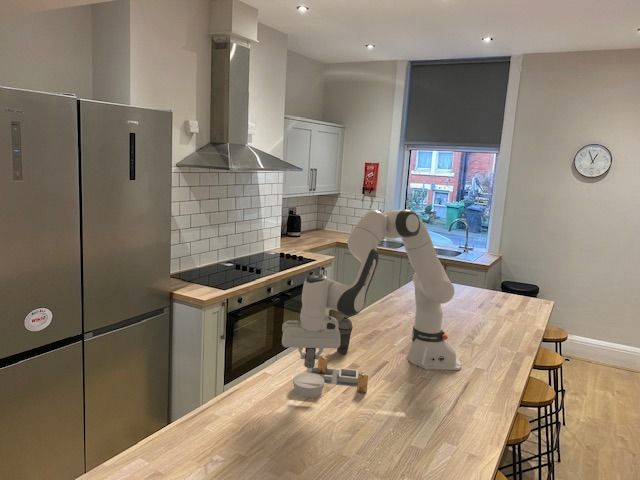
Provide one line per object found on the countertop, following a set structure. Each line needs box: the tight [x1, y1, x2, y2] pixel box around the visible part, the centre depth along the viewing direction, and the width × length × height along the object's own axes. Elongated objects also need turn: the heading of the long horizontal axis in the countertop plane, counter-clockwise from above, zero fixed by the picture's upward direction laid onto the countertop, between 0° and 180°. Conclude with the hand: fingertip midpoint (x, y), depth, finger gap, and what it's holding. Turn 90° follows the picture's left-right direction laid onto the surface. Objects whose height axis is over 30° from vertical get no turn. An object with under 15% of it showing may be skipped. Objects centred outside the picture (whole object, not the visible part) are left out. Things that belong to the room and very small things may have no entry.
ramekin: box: [292, 372, 325, 398], centre depth 166 cm, size 11×11×5 cm
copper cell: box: [356, 373, 369, 395], centre depth 168 cm, size 4×4×8 cm
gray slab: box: [305, 365, 365, 388], centre depth 178 cm, size 22×12×3 cm, turn 86°
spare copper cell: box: [317, 355, 329, 375], centre depth 178 cm, size 4×4×8 cm
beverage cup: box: [336, 314, 354, 355], centre depth 202 cm, size 7×7×20 cm
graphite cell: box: [303, 348, 317, 368], centre depth 164 cm, size 4×4×8 cm
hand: (309, 358), depth 164 cm, fingers closed on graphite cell, 4 cm apart
